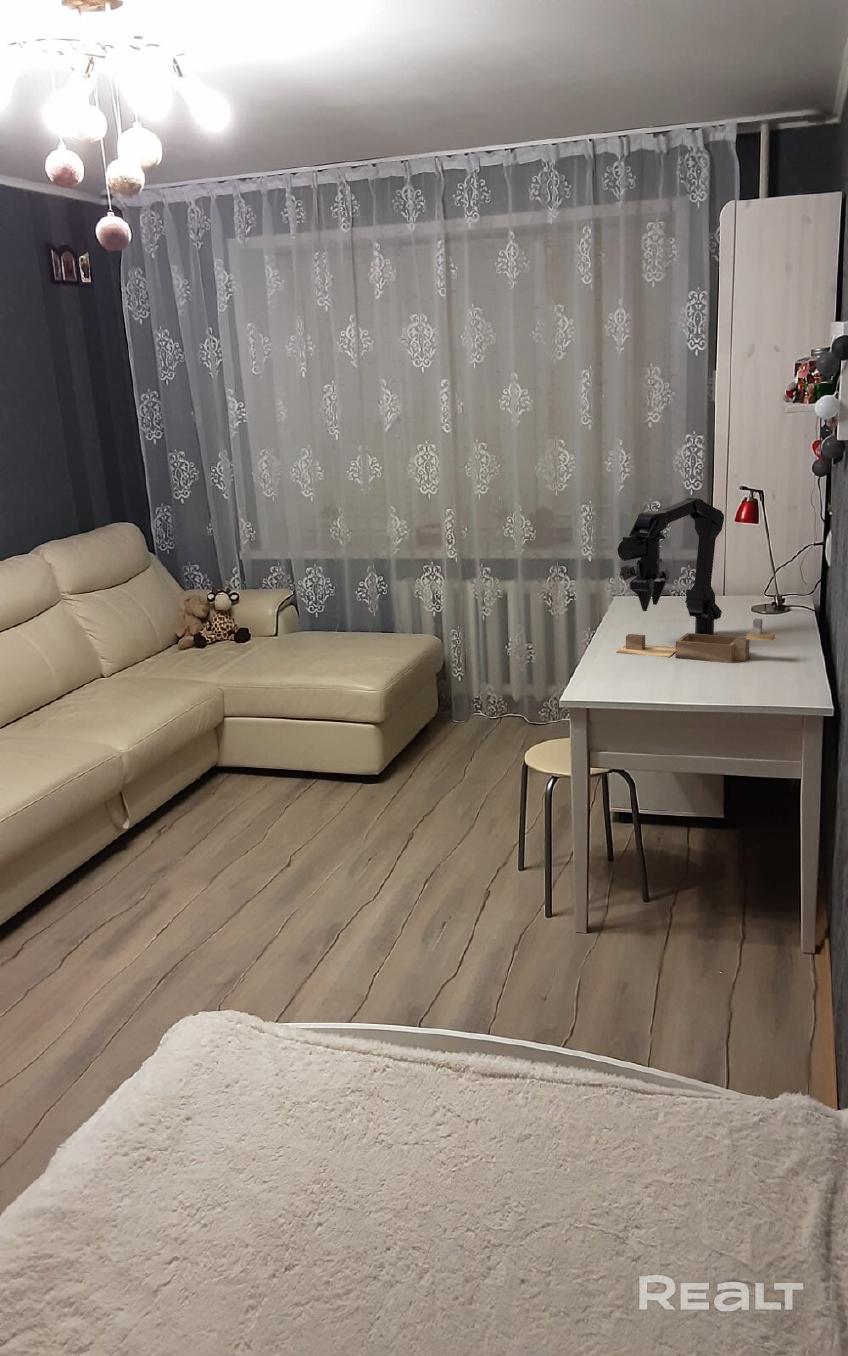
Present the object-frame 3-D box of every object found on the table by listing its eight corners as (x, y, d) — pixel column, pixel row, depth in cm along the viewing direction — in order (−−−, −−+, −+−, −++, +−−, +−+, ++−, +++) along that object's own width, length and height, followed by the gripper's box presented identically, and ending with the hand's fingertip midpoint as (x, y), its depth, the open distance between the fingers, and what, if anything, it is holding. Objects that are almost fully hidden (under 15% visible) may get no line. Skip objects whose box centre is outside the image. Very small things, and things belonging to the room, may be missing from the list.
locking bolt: (749, 636, 301) (750, 617, 299) (775, 638, 297) (776, 619, 296) (746, 639, 297) (747, 620, 296) (771, 641, 294) (772, 622, 292)
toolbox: (686, 649, 315) (687, 629, 313) (751, 654, 305) (752, 634, 304) (675, 658, 306) (675, 637, 304) (741, 663, 296) (742, 643, 295)
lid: (628, 646, 324) (629, 630, 322) (680, 650, 316) (680, 634, 315) (616, 654, 315) (616, 638, 313) (668, 659, 307) (669, 642, 305)
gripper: (634, 549, 321) (634, 600, 326) (612, 560, 306) (612, 613, 310) (670, 550, 316) (670, 602, 320) (649, 561, 301) (649, 615, 305)
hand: (649, 607), depth 314 cm, fingers open, 9 cm apart
